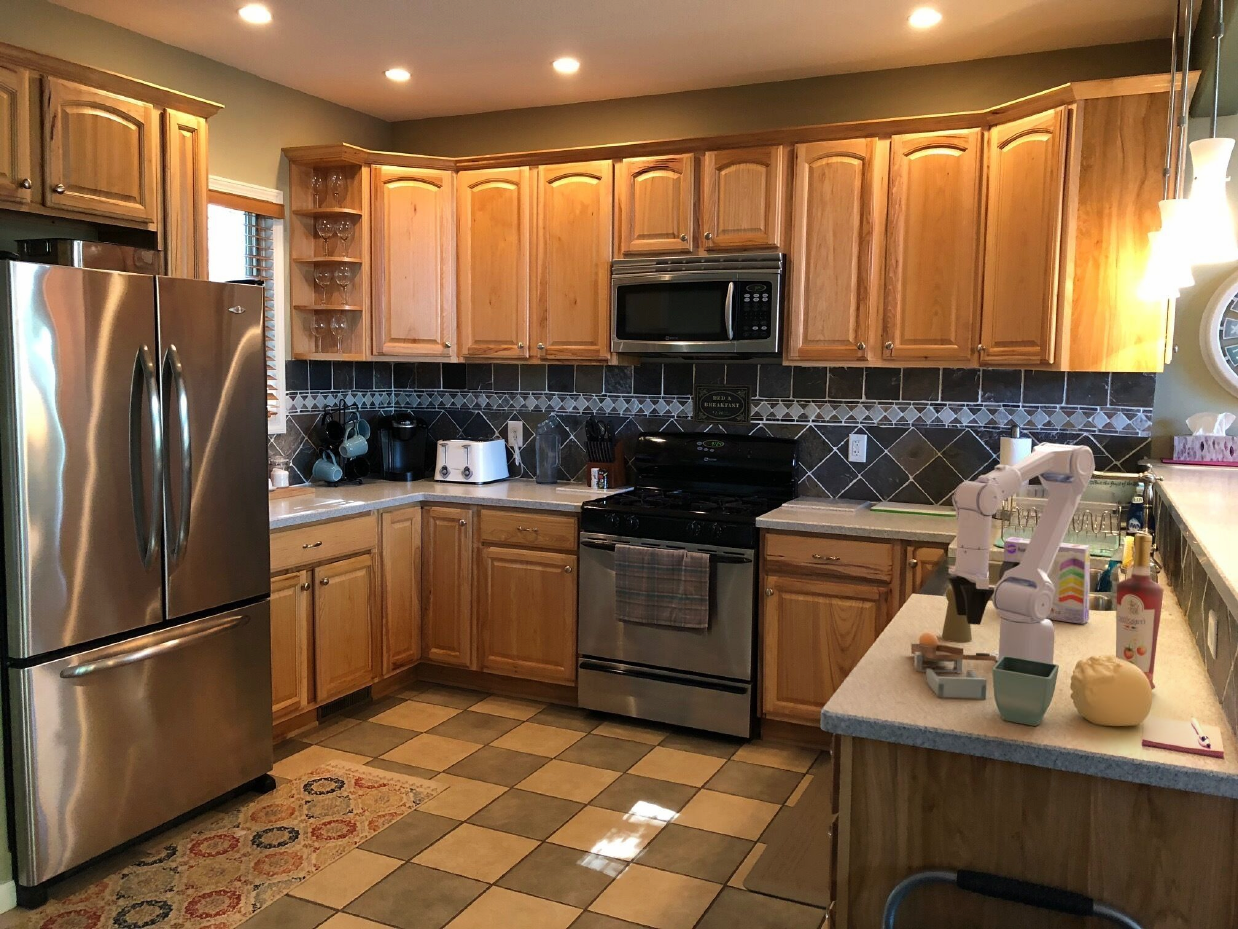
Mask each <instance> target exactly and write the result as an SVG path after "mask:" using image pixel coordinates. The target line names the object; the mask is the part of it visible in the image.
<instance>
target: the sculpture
mask: <svg viewBox="0 0 1238 929" xmlns="http://www.w3.org/2000/svg"><path fill="white" fill-rule="evenodd" d="M1070 681H1071V682H1070V686H1069V688H1070V690H1071V691H1072V692H1071V693H1070V698H1071V700H1073V701H1072V703H1073V706H1074V707H1075V708H1076V711H1077V713H1079V714H1080V715H1082V716H1083V717H1084V718H1085V719H1086V720H1087V721H1088V722H1090V723H1092V724H1095V725H1097V726H1098V725H1099V726H1105V727H1108V726H1109V727H1131V726H1138V725H1140V724H1141V723H1143V722H1144V721H1146V718H1147V717H1149V716H1148V715H1149V714H1150V711H1151V709H1152V705H1153V690H1152V689H1151V685H1150V683H1149V680H1148V679H1147V677H1146V675H1145V674H1144V673H1143V672H1142V671H1141V670H1140V669H1139V668H1138V667H1137V666H1135V665H1134V664H1132V663H1130V662H1128V661H1125V660H1122V659H1119V658H1117V657H1116V655H1115V654H1111V653H1110V654H1102V655H1095V656H1094V655H1092V656H1090V657H1088V658H1085V659H1079V660H1078V661H1077V662H1076V664H1075V666H1074V670H1073V671H1072V674H1071V677H1070Z"/></svg>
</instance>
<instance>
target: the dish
mask: <svg viewBox="0 0 1238 929" xmlns="http://www.w3.org/2000/svg"><path fill="white" fill-rule="evenodd" d="M925 674H926V675H925V683H926V684H927V685H928V687H929V688H930V689H931V690H932V692H933V691H934V692H933V693H934V694H935V695H936V697H937V696H938V697H937V698H938V699H959V698H960V699H964V700H965V699H966V700H986V698H987V683H988V682H987V680H988V679H987V678H986V677H979V676H978V674H976V673H975V671H973V670H971V669H967V670H966V677H965V676H964V677H962V676H959V677H958V676H938V675H937V674H936V672H933V670H932V669H927V672H925Z"/></svg>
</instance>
